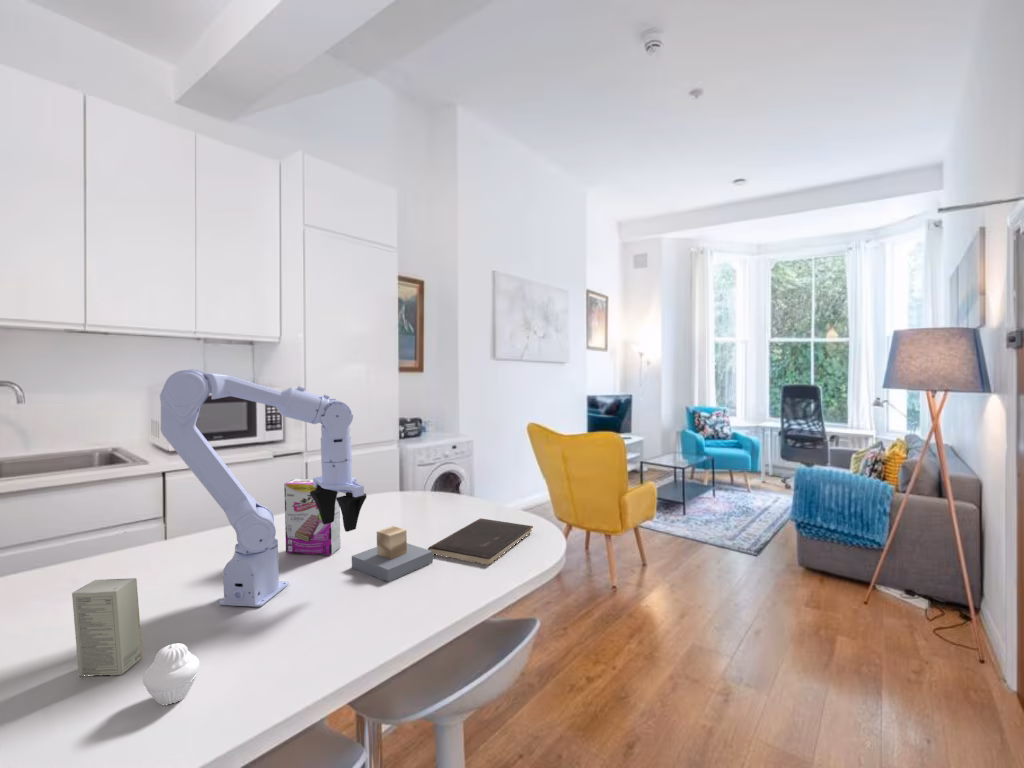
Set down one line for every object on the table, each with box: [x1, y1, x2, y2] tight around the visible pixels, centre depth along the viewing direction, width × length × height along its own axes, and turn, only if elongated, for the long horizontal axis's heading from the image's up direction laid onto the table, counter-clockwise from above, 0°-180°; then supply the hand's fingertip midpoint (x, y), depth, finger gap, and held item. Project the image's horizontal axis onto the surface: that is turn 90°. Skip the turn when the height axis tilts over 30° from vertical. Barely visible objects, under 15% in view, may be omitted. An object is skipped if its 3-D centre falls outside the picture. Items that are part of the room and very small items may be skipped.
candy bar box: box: [283, 478, 341, 556], centre depth 115 cm, size 11×5×16 cm, turn 84°
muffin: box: [142, 642, 201, 706], centre depth 65 cm, size 6×6×7 cm
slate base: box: [351, 542, 434, 583], centre depth 108 cm, size 12×12×2 cm
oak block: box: [376, 525, 408, 559], centre depth 107 cm, size 4×4×5 cm
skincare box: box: [71, 577, 143, 677], centre depth 72 cm, size 6×4×12 cm
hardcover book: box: [427, 517, 534, 566], centre depth 121 cm, size 16×23×2 cm
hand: (339, 526), depth 101 cm, fingers open, 7 cm apart
